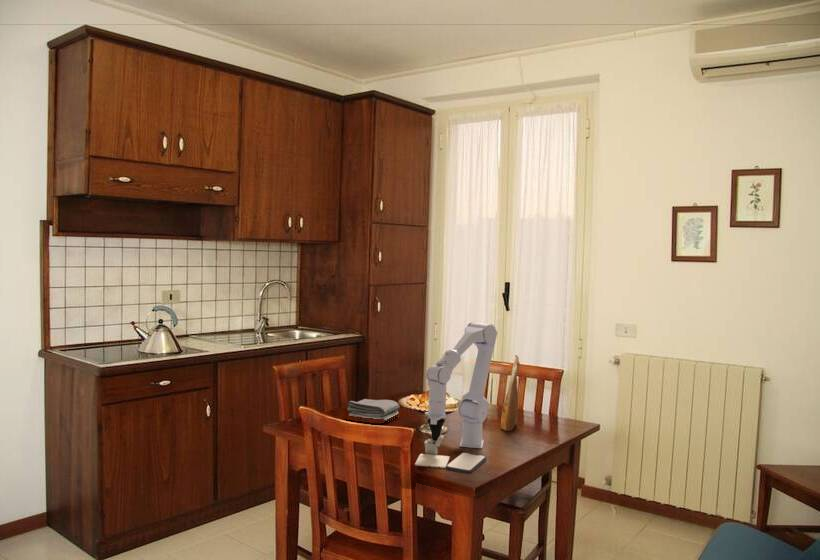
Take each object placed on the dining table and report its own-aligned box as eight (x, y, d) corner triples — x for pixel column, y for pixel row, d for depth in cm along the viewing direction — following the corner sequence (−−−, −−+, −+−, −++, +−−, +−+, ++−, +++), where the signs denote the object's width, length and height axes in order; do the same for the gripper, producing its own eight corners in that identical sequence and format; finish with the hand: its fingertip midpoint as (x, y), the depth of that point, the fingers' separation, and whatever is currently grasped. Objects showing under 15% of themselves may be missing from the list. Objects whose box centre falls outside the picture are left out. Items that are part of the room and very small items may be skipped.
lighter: (425, 453, 217) (423, 433, 215) (427, 450, 219) (425, 430, 216) (443, 457, 214) (441, 437, 211) (446, 454, 215) (444, 434, 213)
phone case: (470, 476, 199) (487, 460, 213) (470, 471, 199) (487, 456, 213) (444, 471, 203) (462, 456, 217) (444, 466, 202) (462, 451, 217)
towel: (385, 426, 251) (385, 406, 251) (343, 420, 258) (344, 401, 258) (400, 417, 265) (400, 399, 265) (360, 412, 272) (361, 394, 272)
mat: (420, 454, 216) (420, 453, 216) (449, 457, 214) (449, 456, 214) (414, 465, 205) (414, 463, 205) (445, 468, 203) (445, 466, 203)
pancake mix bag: (520, 421, 265) (523, 354, 264) (516, 433, 246) (519, 361, 245) (504, 419, 267) (507, 353, 265) (498, 431, 248) (501, 360, 247)
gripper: (428, 395, 224) (427, 433, 224) (422, 404, 209) (420, 445, 210) (448, 396, 222) (447, 435, 223) (443, 406, 208) (441, 447, 208)
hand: (435, 440), depth 216 cm, fingers closed
